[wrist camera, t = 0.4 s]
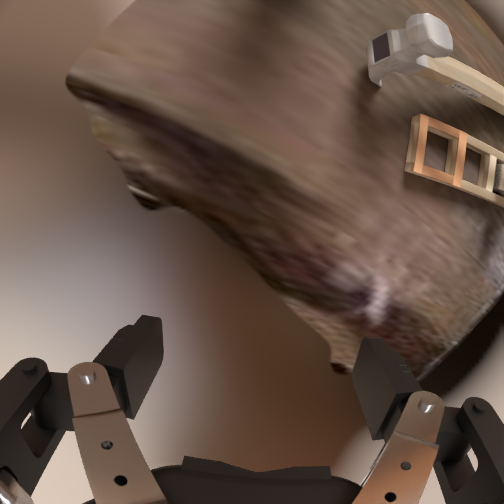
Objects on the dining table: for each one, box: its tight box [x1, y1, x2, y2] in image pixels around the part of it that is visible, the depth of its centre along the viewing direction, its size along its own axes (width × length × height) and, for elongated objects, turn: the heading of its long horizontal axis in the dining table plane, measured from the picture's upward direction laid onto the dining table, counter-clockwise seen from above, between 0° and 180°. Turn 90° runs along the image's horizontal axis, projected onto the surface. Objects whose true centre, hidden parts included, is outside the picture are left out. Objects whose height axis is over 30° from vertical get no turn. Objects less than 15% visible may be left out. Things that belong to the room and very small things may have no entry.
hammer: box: [366, 13, 504, 116], centre depth 27 cm, size 16×5×30 cm
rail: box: [405, 114, 504, 208], centre depth 33 cm, size 8×22×3 cm, turn 81°
